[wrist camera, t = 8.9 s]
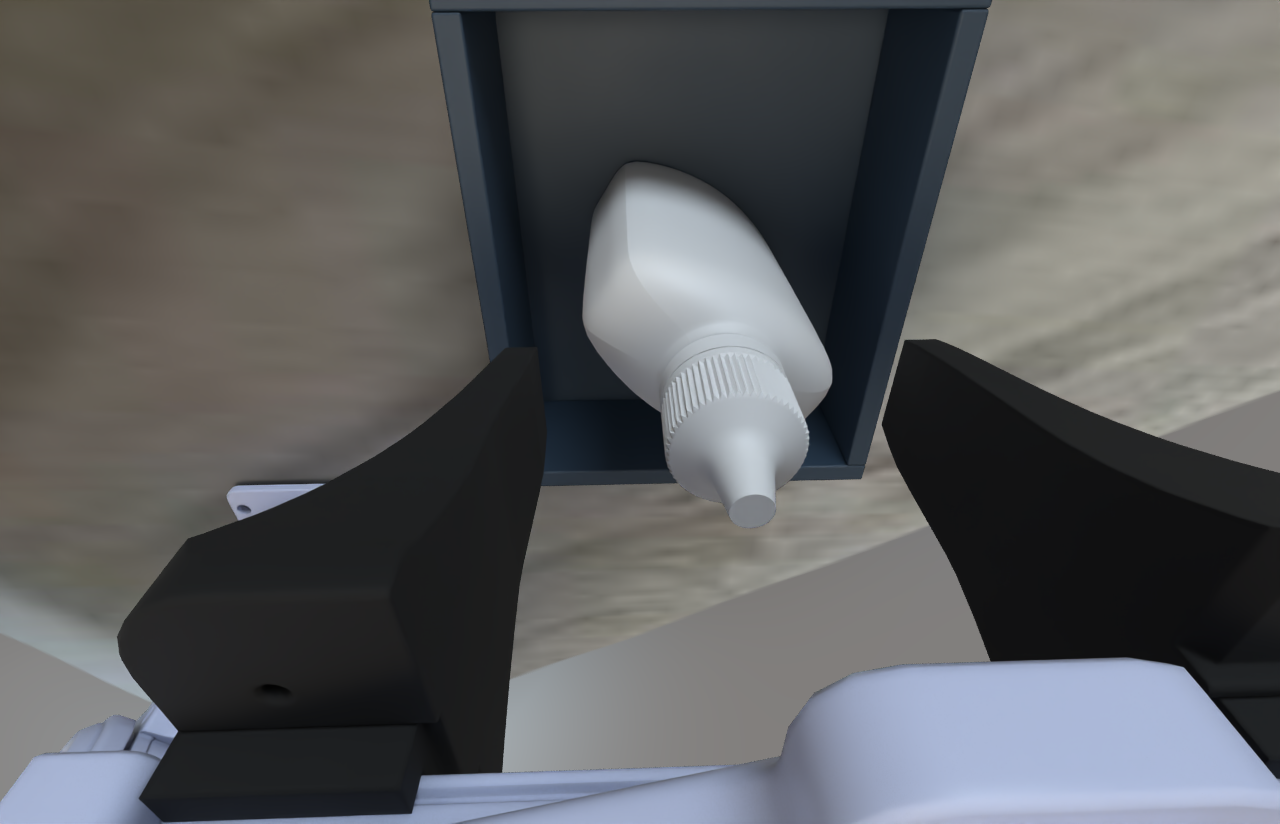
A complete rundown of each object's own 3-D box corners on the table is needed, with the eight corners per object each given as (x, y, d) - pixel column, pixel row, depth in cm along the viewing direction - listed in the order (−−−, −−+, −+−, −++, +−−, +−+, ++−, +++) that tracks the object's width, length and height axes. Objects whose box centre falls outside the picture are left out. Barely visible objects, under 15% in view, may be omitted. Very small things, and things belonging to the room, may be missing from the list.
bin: (823, 400, 23) (862, 479, 20) (528, 406, 23) (510, 487, 19) (911, -27, 16) (1001, -29, 12) (470, -25, 15) (423, -26, 12)
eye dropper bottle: (661, 336, 21) (699, 652, 11) (574, 188, 18) (521, 438, 8) (781, 278, 20) (941, 571, 10) (710, 110, 17) (836, 290, 7)
